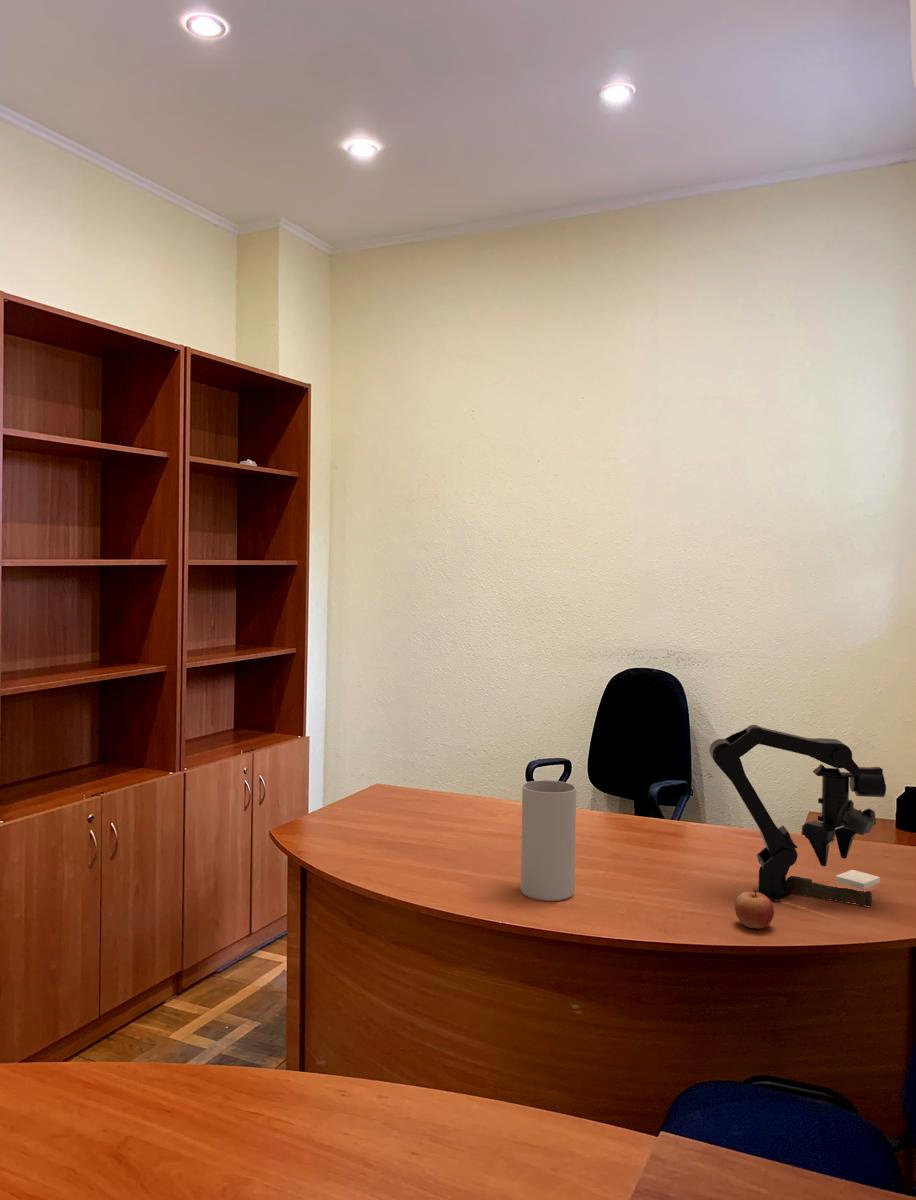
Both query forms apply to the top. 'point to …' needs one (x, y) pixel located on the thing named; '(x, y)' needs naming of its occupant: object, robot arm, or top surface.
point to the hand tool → (827, 891)
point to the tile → (857, 879)
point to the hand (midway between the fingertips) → (833, 862)
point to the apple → (754, 909)
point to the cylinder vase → (548, 840)
